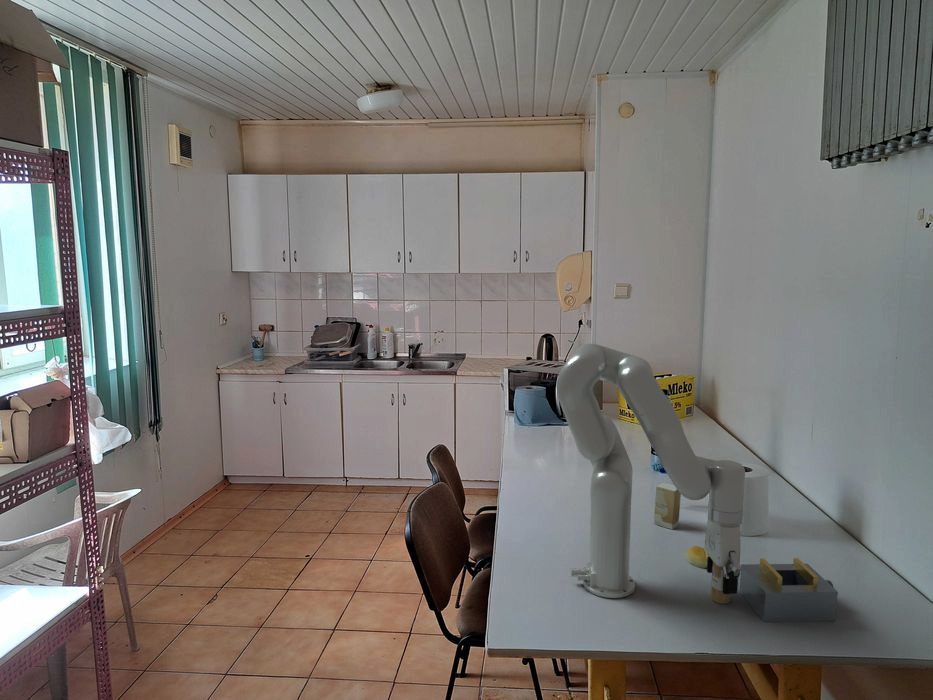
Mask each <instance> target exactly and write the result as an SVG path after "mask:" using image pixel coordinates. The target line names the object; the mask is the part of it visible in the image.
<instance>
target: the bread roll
mask: <svg viewBox="0 0 933 700" xmlns="http://www.w3.org/2000/svg"><path fill="white" fill-rule="evenodd" d="M685 557H686V560H687V562H688V563H689V564H691V565H694V566H695V567H698V568H700V569H701V568H702V569H704V568H705V569H707V557H710V556H708V555H707V552H706V551H705V547H701V546H700V545H699V546H698V545H694V546H692V547H690V548H689V549H688V550H687V551H686V554H685Z"/></svg>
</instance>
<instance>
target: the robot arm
mask: <svg viewBox="0 0 933 700" xmlns="http://www.w3.org/2000/svg"><path fill="white" fill-rule="evenodd" d="M598 381H603V382H606V383H609V384H612V385H614V386H617V390H618V391H619V393H620V394H621V396H622V397H623V399H624V401H625V402H626V403H627V406H628V407H629V409H630V411H631V412H632V414H633V415H634V417H635V419H636V421H637V422H638V424H639V425H640V426H641V428H642V431H643V433H644V434H645V436H646V437H647V440H648V442H649V444H650V445H651V447H652V448H653V450H654V453H655V454H656V456H657V458H658V459H659V462H660V464H661V465H662V467H663V468H664V471H665V472H666V474H667V475H668V477H669V479H670V480H671V482H672V485H674V486H675V487H676V489H677V490H678V492H679V493H680V494H681V497H684V498H685V499H688V500H691V501H701V500H704V498H706V497H707V496H708V503H707V505H708V507H707V521H706V528H705V538H704V548H705V551H706V552H707V555H708V556H710V557H707V568H706V572H707V573H708V574H712V567H713V561H714V563H715V564H716V565H717V566H718V567H722V566H723V569H724V574H725V577H723V590H722V592H723V593H724V594H730V595H736V594H738V585H739V584H738V583H739V580H740V576H741V564H740V562H741V548H742V547H741V525H742V524H743V517H744V514H743V513H744V502H745V501H744V500H745V499H744V498H745V485H746V484H745V483H746V481H745V480H746V469H745V467H744V466H743V465H742V463H740V462H737V461H735V460H728V459H719V460H715V459H711V458H707V457H702V456H697V455H696V454H695V452H694V450H693V449H692V447H691V444H690V443H689V441H688V439H687V436H686V434H685V432H684V428H683V426H682V422H681V419H680V417H679V416H678V413H677V412H676V410H675V408H674V407H673V405H672V404H671V402H670V401H669V399H668V397H667V395H666V394H665V392H664V391H663V390H662V387H661V385H660V384H659V382H658V381H657V379H656V377H655V375H654V371H653V368H652V366H651V365H650V363H649V362H648V361H647V360H646V359H643V358H642V357H639V356H636V355H633V354H629V353H627V352H622V351H619V350H616V349H614V348H610V347H607V346H603V345H600V344H597V343H586V344H583V345H581V346H579V347H578V348H576V350H575V351H574V352H573V353H572V355H571V356H570V358H568V360H567V361H566V362H565V364H564V365H563V366H562V368H561V370H559V373H558V375H557V379H556V387H555V389H556V395H557V399H558V402H559V404H560V407H561V409H562V412H563V414H564V417H565V419H566V422H567V425H568V428H569V431H570V433H571V435H572V437H573V440H574V442H575V445H576V447H577V449H578V452H579V453H580V455H581V457H582V456H583V458H585V459H586V460H588V461H590V463H591V466H592V469H593V471H592V474H591V479H590V487H589V492H590V494H589V495H590V533H589V534H590V535H589V536H590V539H589V540H590V542H589V543H590V546H589V562H587V563H586V567H584V566H583V567H582V568H577V567H575V568H570V570H569V571H570V577H576V578H577V579H576V580H577V581H579V582H580V581H582V584H583V586H584V588H585V589H586V590H587V591H588V592H590V593H591V594H593V595H595V596H598V597H601V598H607V599H620V598H625V597H628V596H630V595H632V594H633V593H634V591H635V590H636V582H635V580H634V579H633V578H632V576H630V558H631V557H630V556H631V555H630V554H631V552H630V551H631V522H632V521H631V515H632V514H631V513H632V497H633V496H632V494H633V493H632V492H633V466H632V465H633V464H632V461H631V460H630V457H629V455H628V452H627V450H626V448H625V445H624V442H623V440H622V438H621V435H620V433H619V431H618V428H617V426H616V424H615V422H614V421H613V420H612V419H611V417H609V416H608V415H606V414H603V412H602V410H601V408H600V404H599V402H598V400H597V398H596V395H595V394H594V389H593V388H594V385H595V384H596V383H597V382H598ZM727 562H731V563H732V564H726V563H727ZM728 568H732V570H731V571H730V572H729V573H728Z"/></svg>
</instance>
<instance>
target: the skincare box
mask: <svg viewBox="0 0 933 700" xmlns="http://www.w3.org/2000/svg"><path fill="white" fill-rule="evenodd" d="M654 496H655V499H654V513H653V524H654V525H657V526H659V527H663V528H667V529H669V530H674V529H676V528H677V527H678V526H679V525H680V524H679V523H680V508H681V497H682V495H681V494H680V493H679V492H678V490H677V489H676V487H675V485H674V484H671V483H667V482H660V483H659V484H657V485H656V487H655V495H654Z"/></svg>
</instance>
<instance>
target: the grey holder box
mask: <svg viewBox="0 0 933 700" xmlns="http://www.w3.org/2000/svg"><path fill="white" fill-rule="evenodd" d="M740 566H741V571H740V575H739V593H740V594H741V596H742V597H744V599H745V600H746V602H748V604H749V605H750V607H752V609H753V610H754V611H755V613H756V614H757V615H758V617H759V618H760V619H761V620H762V622H764V623H771V622H773V623H774V622H775V623H777V622H778V623H781V622H782V623H783V622H789V623H790V622H836V619H837V618H836V617H837V605H838V594H839V593H838V590H836V589H835V587H834V585H833V582H832V581H831V580H829V579H825V578H823V576H822V575H820V574H819V573H818V572H817V571H816V570H815V569H814V568H813V567H811V565H810V564H808V563H803V562H802V561H801V559H799V558H798V557H794V558H793V563H770V562H768V561H767V560H766V559H765V558H763V557H761V558H759V563H758V564H757V563H756V564H755V563H754V564H752V563H751V564H750V563H749V564H748V563H746V564H740Z"/></svg>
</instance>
